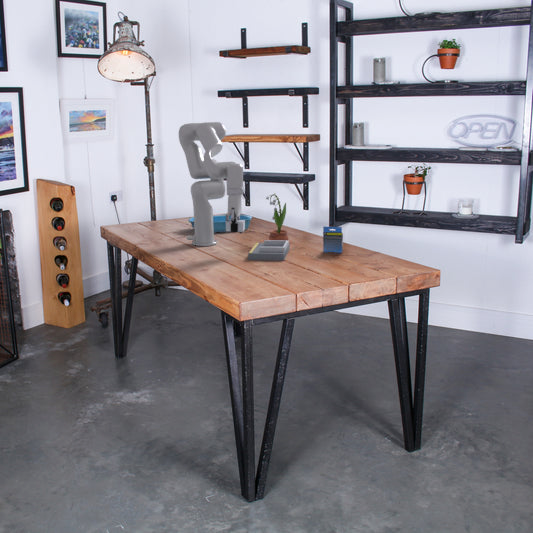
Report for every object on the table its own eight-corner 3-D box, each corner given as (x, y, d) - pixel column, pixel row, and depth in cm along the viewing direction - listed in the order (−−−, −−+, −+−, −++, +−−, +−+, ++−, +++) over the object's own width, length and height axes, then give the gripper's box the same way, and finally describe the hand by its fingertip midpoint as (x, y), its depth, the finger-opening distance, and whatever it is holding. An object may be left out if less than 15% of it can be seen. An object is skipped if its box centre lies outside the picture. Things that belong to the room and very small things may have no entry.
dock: (248, 259, 287) (248, 249, 285) (256, 248, 310) (256, 238, 308) (283, 260, 284) (283, 249, 283) (289, 249, 307) (289, 238, 306)
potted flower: (261, 243, 322) (260, 193, 316) (271, 239, 331) (270, 191, 325) (283, 245, 317) (282, 194, 311) (291, 241, 326) (291, 192, 320)
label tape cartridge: (343, 251, 300) (343, 225, 298) (341, 253, 297) (342, 227, 294) (324, 250, 303) (324, 225, 300) (322, 252, 299) (323, 226, 296)
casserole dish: (244, 224, 379) (244, 212, 377) (258, 230, 358) (258, 217, 357) (183, 229, 365) (183, 217, 363) (194, 236, 345) (194, 223, 343)
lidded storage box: (225, 233, 293) (225, 215, 291) (228, 231, 298) (227, 213, 296) (243, 233, 292) (243, 215, 290) (245, 231, 297) (244, 213, 295)
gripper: (230, 188, 299) (230, 226, 304) (223, 194, 283) (223, 234, 287) (246, 188, 298) (246, 227, 303) (239, 194, 282) (240, 234, 286)
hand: (235, 230), depth 295 cm, fingers closed on lidded storage box, 5 cm apart
